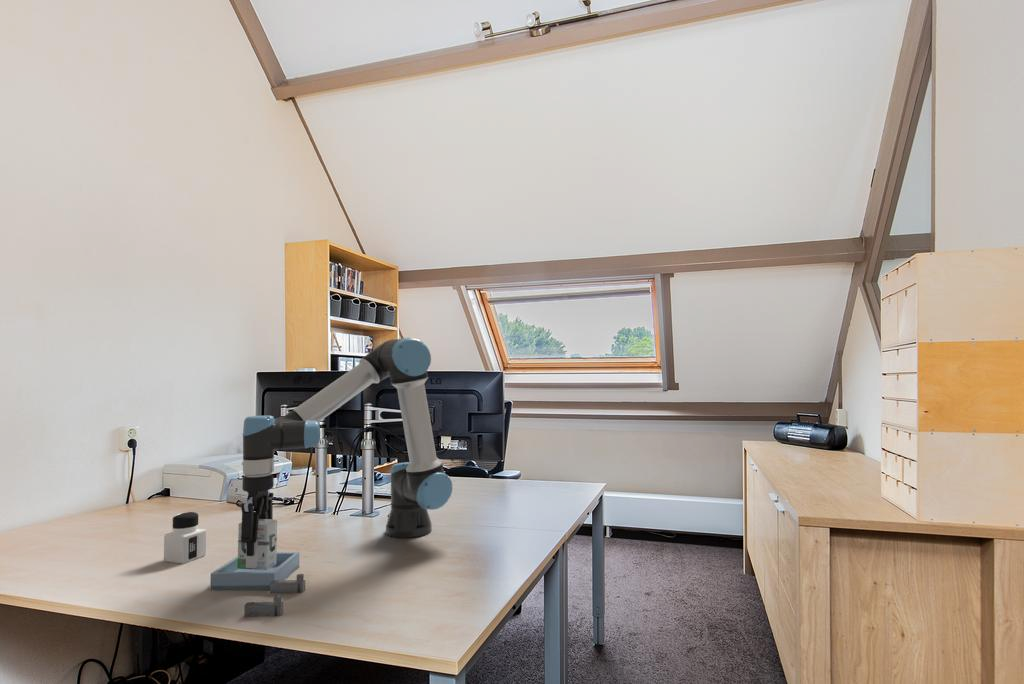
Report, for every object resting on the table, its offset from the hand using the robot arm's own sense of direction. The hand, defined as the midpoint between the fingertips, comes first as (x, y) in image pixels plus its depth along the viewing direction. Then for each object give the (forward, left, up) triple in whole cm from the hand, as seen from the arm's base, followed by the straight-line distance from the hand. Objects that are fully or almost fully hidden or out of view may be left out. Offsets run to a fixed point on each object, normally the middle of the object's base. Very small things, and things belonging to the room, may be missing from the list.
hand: (257, 563), depth 147 cm
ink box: (0, 0, -1) cm, 1 cm away
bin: (0, 0, -4) cm, 4 cm away
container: (+29, -16, -4) cm, 33 cm away
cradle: (-12, +16, -4) cm, 20 cm away
